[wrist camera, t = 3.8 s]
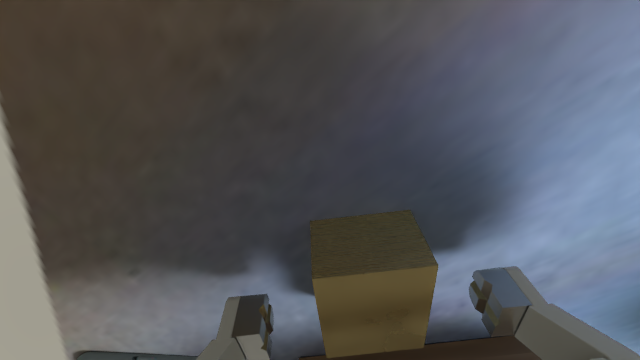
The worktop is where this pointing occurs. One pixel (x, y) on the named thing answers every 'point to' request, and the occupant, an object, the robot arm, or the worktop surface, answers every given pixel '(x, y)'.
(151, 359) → the smartphone
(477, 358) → the box
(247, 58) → the worktop surface
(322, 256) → the pale yellow block
